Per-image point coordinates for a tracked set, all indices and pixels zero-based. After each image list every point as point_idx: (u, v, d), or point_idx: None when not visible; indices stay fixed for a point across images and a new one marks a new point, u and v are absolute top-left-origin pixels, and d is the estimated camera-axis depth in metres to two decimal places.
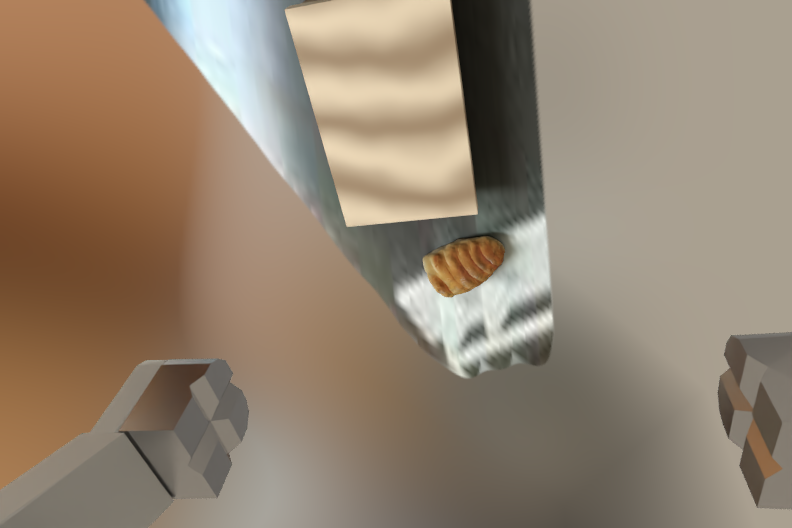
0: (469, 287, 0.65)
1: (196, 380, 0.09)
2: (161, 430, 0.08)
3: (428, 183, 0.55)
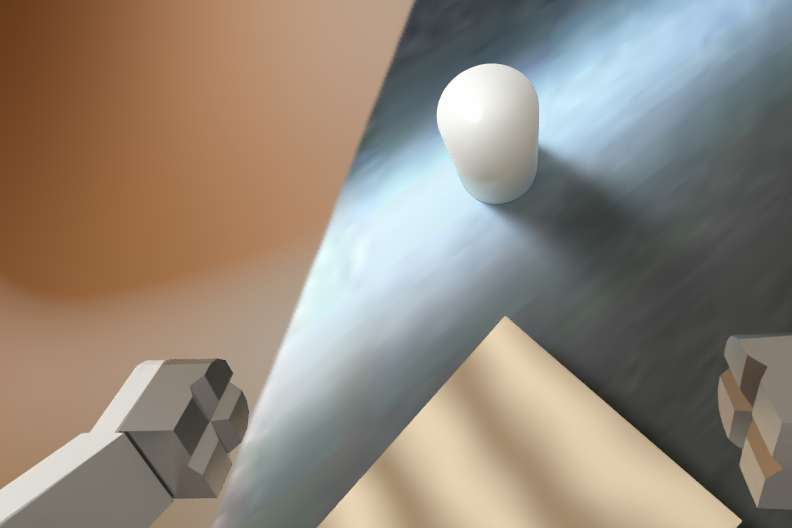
0: None
1: (196, 380, 0.09)
2: (161, 430, 0.08)
3: None
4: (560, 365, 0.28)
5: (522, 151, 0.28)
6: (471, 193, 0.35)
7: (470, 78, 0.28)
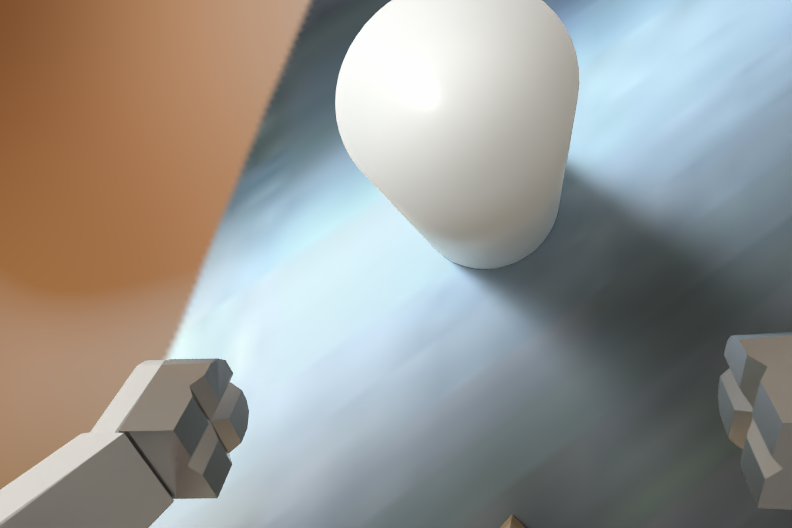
0: None
1: (196, 380, 0.09)
2: (161, 430, 0.08)
3: None
4: None
5: (536, 184, 0.12)
6: (436, 249, 0.19)
7: (414, 11, 0.12)
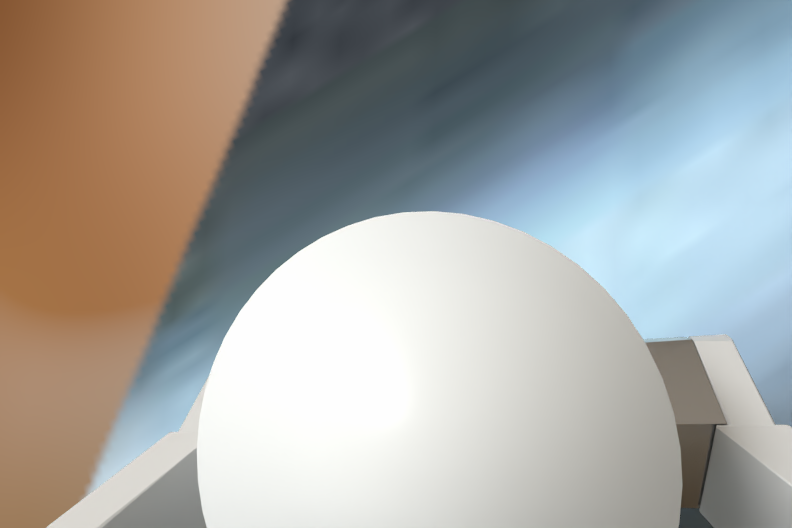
0: None
1: None
2: None
3: None
4: None
5: None
6: None
7: (347, 276, 0.06)
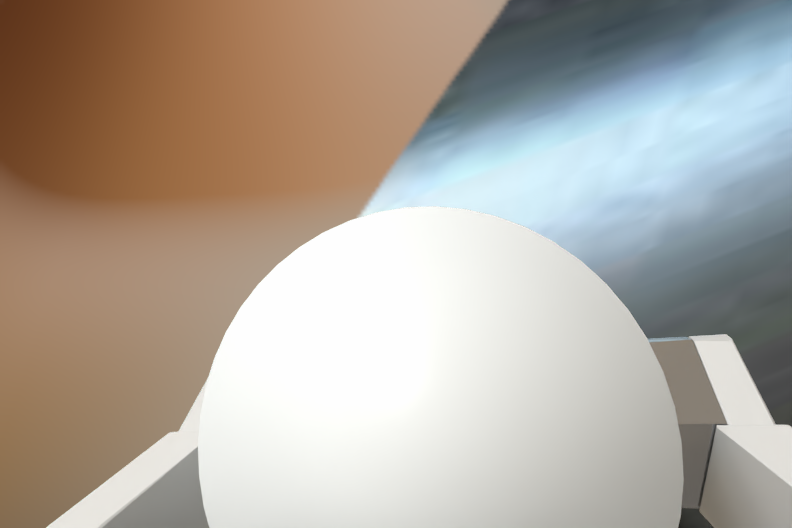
0: None
1: None
2: None
3: None
4: None
5: None
6: None
7: (348, 271, 0.06)
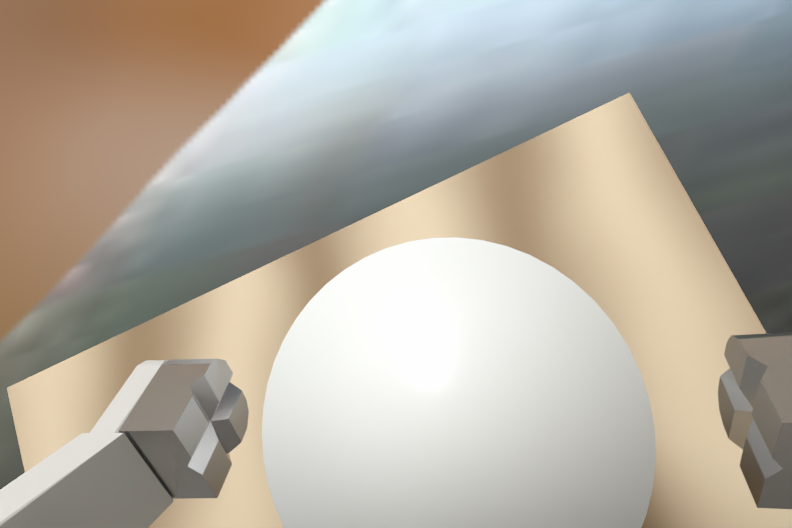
0: None
1: (196, 380, 0.09)
2: (161, 430, 0.08)
3: None
4: (692, 209, 0.15)
5: None
6: None
7: (384, 290, 0.08)
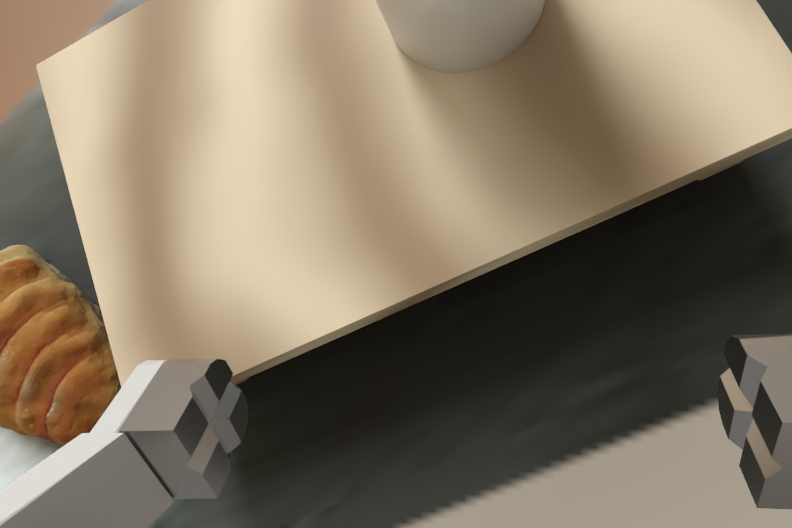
0: None
1: (196, 380, 0.09)
2: (161, 430, 0.08)
3: (198, 245, 0.18)
4: None
5: None
6: (406, 48, 0.17)
7: None
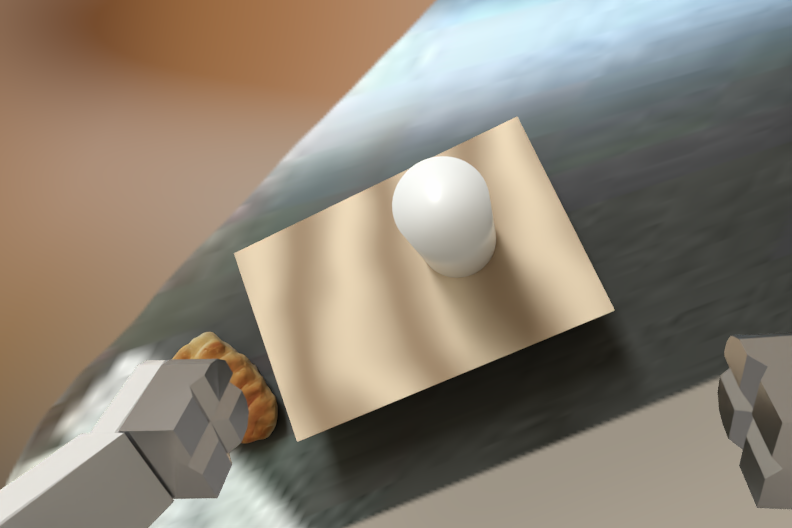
0: None
1: (196, 380, 0.09)
2: (161, 430, 0.08)
3: (328, 355, 0.37)
4: (540, 164, 0.36)
5: (471, 244, 0.29)
6: (429, 265, 0.36)
7: (427, 168, 0.29)
